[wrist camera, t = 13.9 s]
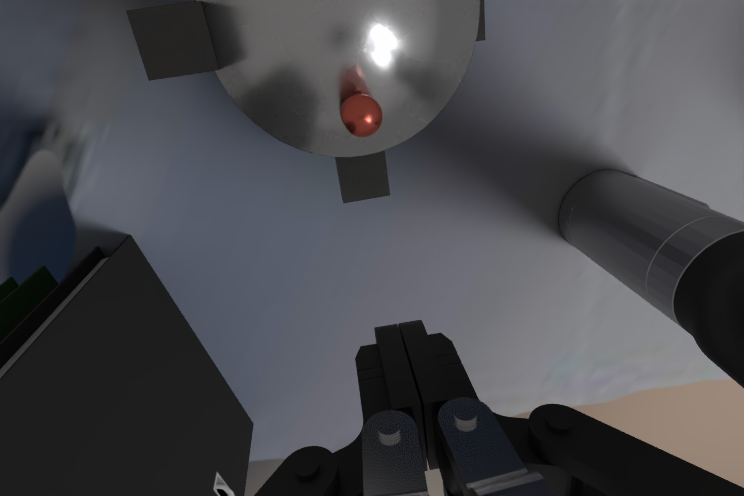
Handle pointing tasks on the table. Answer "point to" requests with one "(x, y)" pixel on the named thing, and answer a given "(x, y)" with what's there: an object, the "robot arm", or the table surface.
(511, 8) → the table surface
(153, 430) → the binder
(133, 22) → the lid
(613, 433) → the robot arm
